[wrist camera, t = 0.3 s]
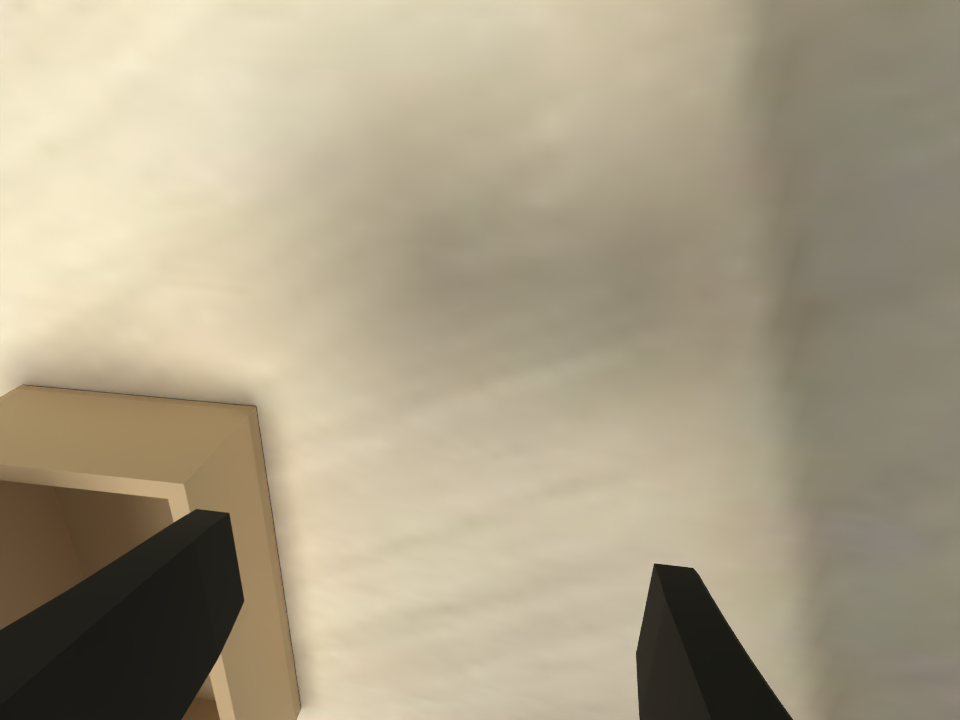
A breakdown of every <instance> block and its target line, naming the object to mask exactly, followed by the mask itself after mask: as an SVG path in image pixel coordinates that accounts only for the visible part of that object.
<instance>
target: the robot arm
mask: <svg viewBox="0 0 960 720" xmlns="http://www.w3.org/2000/svg"><path fill="white" fill-rule="evenodd" d="M243 603H244V595H243V589H242V583H241V577H240V571H239V566H238V560H237V554H236V548H235V542H234V536H233V531H232V525H231V519H230V513H227V512H218V511H210V510H201V509H196V510H194V511H192V512H190V513H189V514H187V515H185V516H184V517H182V518H180V519H179V520H177V521H175V522H174V523H172V524H171V525H169V526H167V527H166V528H164V529H163V530H161V531H160V532H158V533H156V534H155V535H153V536H152V537H150V538H149V539H147V540H146V541H144V542H143V543H141V544H139V545H138V546H136V547H135V548H133V549H132V550H130V551H129V552H127V553H126V554H124V555H122V556H121V557H119V558H118V559H116V560H115V561H113V562H111V563H110V564H108V565H107V566H105V567H104V568H102V569H100V570H99V571H97V572H96V573H94V574H93V575H91V576H89V577H88V578H86V579H85V580H83V581H81V582H80V583H78V584H77V585H75V586H74V587H72V588H70V589H69V590H67V591H65V592H64V593H62V594H60V595H59V596H57V597H55V598H54V599H52V600H50V601H48V602H47V603H45V604H43V605H42V606H40V607H38V608H37V609H35V610H33V611H32V612H30V613H28V614H27V615H25V616H23V617H21V618H20V619H18V620H16V621H15V622H13V623H11V624H10V625H8V626H6V627H5V628H3V629H1V630H0V720H182V718H183V716H184V715H185V713H186V711H187V710H188V708H189V707H190V705H191V703H192V702H193V700H194V698H195V697H196V695H197V693H198V692H199V690H200V688H201V687H202V685H203V683H204V682H205V680H206V678H207V677H208V675H209V673H210V672H211V670H212V668H213V667H214V665H215V663H216V662H217V660H218V658H219V656H220V654H221V652H222V650H223V648H224V645H225V643H226V641H227V639H228V637H229V635H230V633H231V631H232V628H233V626H234V624H235V622H236V619H237V617H238V615H239V612H240V610H241V608H242V606H243ZM636 661H637V682H638V700H639V717H640V720H793V719H792V718H791V716H790V715H789V713H788V712H787V711H786V709H785V708H784V707H783V705H782V704H781V702H780V701H779V700H778V698H777V697H776V695H775V694H774V692H773V691H772V689H771V688H770V686H769V685H768V683H767V682H766V681H765V679H764V678H763V676H762V675H761V673H760V672H759V670H758V669H757V667H756V666H755V665H754V663H753V662H752V660H751V659H750V657H749V656H748V654H747V652H746V651H745V649H744V648H743V646H742V645H741V643H740V642H739V640H738V639H737V637H736V635H735V634H734V632H733V631H732V629H731V627H730V626H729V624H728V623H727V621H726V620H725V618H724V616H723V615H722V613H721V611H720V610H719V608H718V606H717V605H716V603H715V601H714V600H713V598H712V596H711V595H710V593H709V591H708V590H707V588H706V586H705V585H704V583H703V581H702V579H701V578H700V576H699V574H698V573H697V572H696V571H695V570H694V568H688V567H680V566H671V565H663V564H655V563H654V567H653V572H652V577H651V582H650V587H649V592H648V597H647V602H646V607H645V612H644V617H643V622H642V627H641V632H640V637H639V642H638V647H637V652H636Z"/></svg>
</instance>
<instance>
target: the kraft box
mask: <svg viewBox="0 0 960 720" xmlns="http://www.w3.org/2000/svg"><path fill="white" fill-rule="evenodd" d="M196 509H201V510H210V511H218V512H227V513H230V519H231V525H232V531H233V536H234V542H235V548H236V554H237V560H238V566H239V571H240V577H241V583H242V589H243V595H244V603H243V606H242V608H241V610H240V612H239V615H238V617H237V619H236V622H235V624H234V626H233V628H232V631H231V633H230V635H229V637H228V639H227V641H226V643H225V645H224V648H223V650H222V652H221V654H220V656H219V658H218V660H217V662H216V663H215V665H214V667H213V668H212V670H211V672H210V673H209V675H208V677H207V678H206V680H205V682H204V683H203V685H202V687H201V688H200V690H199V692H198V693H197V695H196V697H195V698H194V700H193V702H192V703H191V705H190V707H189V708H188V710H187V711H186V713H185V715H184V716H183V718H182V720H297V717H298V715H299V712H300V710H301V706H300V700H299V693H298V686H297V680H296V673H295V666H294V659H293V653H292V646H291V639H290V632H289V626H288V619H287V612H286V606H285V599H284V592H283V585H282V579H281V572H280V565H279V558H278V552H277V545H276V538H275V532H274V525H273V518H272V511H271V505H270V498H269V491H268V485H267V478H266V471H265V464H264V458H263V451H262V444H261V437H260V431H259V424H258V417H257V411H256V407H254V406H243V405H233V404H222V403H211V402H200V401H189V400H178V399H168V398H157V397H146V396H135V395H124V394H114V393H103V392H92V391H81V390H70V389H59V388H49V387H38V386H27V385H21V386H19V387H17V388H16V389H14V390H12V391H10V392H9V393H7V394H5V395H4V396H2V397H0V630H1V629H3V628H5V627H6V626H8V625H10V624H11V623H13V622H15V621H16V620H18V619H20V618H21V617H23V616H25V615H27V614H28V613H30V612H32V611H33V610H35V609H37V608H38V607H40V606H42V605H43V604H45V603H47V602H48V601H50V600H52V599H54V598H55V597H57V596H59V595H60V594H62V593H64V592H65V591H67V590H69V589H70V588H72V587H74V586H75V585H77V584H78V583H80V582H81V581H83V580H85V579H86V578H88V577H89V576H91V575H93V574H94V573H96V572H97V571H99V570H100V569H102V568H104V567H105V566H107V565H108V564H110V563H111V562H113V561H115V560H116V559H118V558H119V557H121V556H122V555H124V554H126V553H127V552H129V551H130V550H132V549H133V548H135V547H136V546H138V545H139V544H141V543H143V542H144V541H146V540H147V539H149V538H150V537H152V536H153V535H155V534H156V533H158V532H160V531H161V530H163V529H164V528H166V527H167V526H169V525H171V524H172V523H174V522H175V521H177V520H179V519H180V518H182V517H184V516H185V515H187V514H189V513H190V512H192V511H194V510H196Z"/></svg>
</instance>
